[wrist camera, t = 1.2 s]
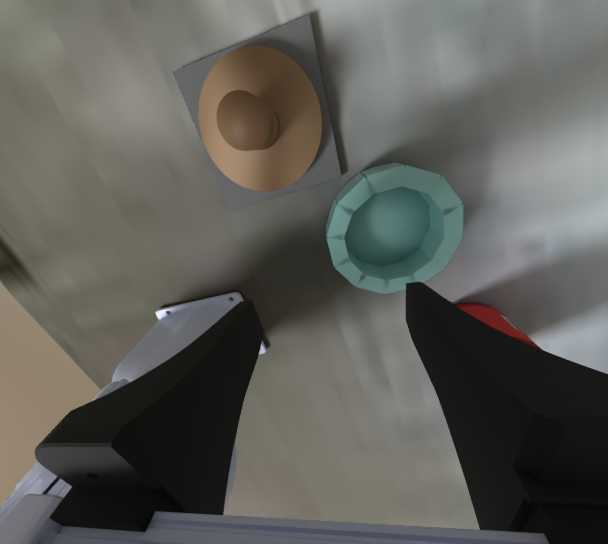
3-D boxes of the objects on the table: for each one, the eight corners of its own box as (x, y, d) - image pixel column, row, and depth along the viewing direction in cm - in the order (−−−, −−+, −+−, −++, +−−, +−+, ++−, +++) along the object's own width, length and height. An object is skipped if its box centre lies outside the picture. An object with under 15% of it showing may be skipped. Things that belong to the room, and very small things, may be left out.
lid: (233, 201, 19) (207, 218, 15) (183, 78, 16) (128, 51, 11) (333, 171, 18) (338, 180, 13) (303, 29, 14) (295, -24, 10)
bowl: (340, 282, 22) (342, 302, 20) (315, 183, 19) (314, 190, 16) (443, 260, 21) (462, 278, 18) (440, 147, 17) (463, 148, 14)
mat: (232, 207, 20) (230, 209, 19) (177, 74, 16) (172, 71, 15) (341, 176, 18) (341, 177, 18) (309, 19, 14) (309, 14, 14)
